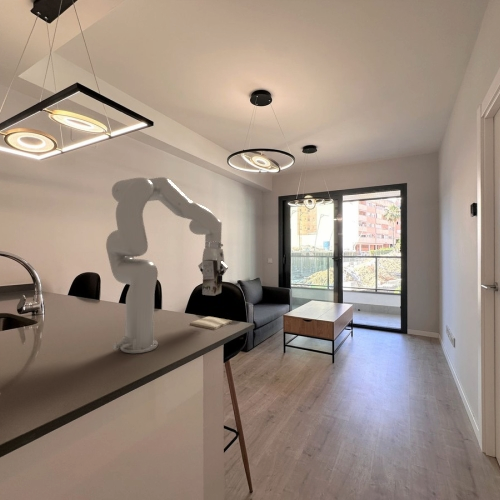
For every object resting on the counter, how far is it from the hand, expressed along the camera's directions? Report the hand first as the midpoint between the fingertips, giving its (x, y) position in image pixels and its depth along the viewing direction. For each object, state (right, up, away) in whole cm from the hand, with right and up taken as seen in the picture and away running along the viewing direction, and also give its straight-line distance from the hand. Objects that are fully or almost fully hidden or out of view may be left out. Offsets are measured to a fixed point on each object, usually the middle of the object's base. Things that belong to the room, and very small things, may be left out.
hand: (212, 283), depth 136 cm
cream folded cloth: (-1, -19, 0) cm, 19 cm away
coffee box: (0, -5, 0) cm, 5 cm away
